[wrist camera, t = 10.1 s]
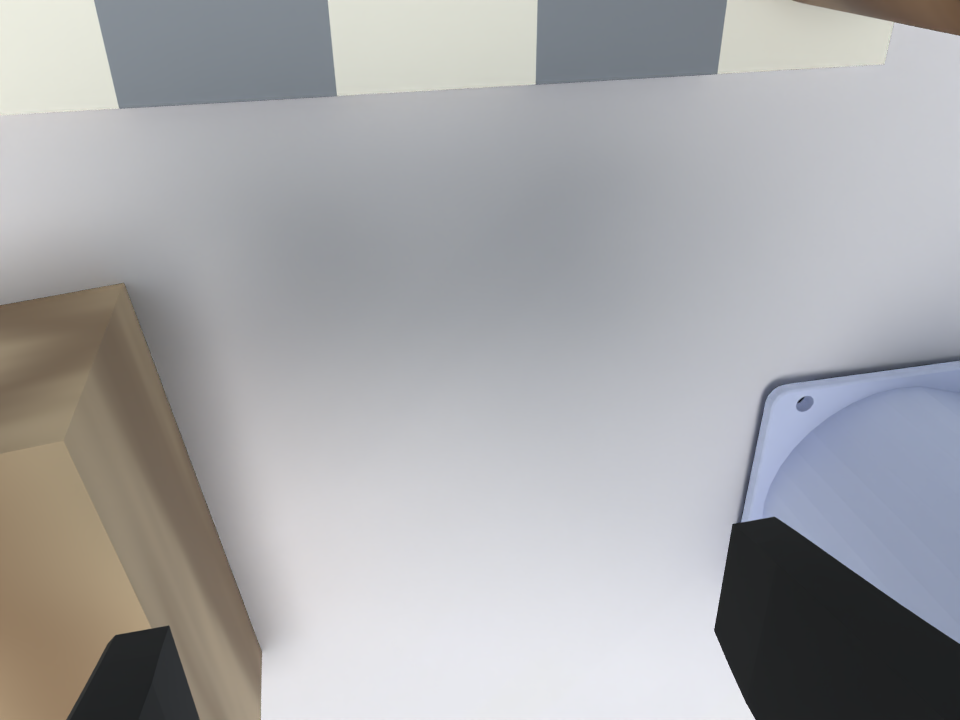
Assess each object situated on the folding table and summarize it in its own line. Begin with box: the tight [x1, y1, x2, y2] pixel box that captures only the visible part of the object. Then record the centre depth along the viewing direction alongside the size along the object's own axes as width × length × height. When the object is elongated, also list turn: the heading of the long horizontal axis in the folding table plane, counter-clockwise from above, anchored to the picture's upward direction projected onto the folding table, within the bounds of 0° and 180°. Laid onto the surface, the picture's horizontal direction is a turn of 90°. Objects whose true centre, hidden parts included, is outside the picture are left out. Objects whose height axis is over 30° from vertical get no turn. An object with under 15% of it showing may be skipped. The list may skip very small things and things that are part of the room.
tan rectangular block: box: [0, 283, 262, 720], centre depth 18 cm, size 4×12×6 cm, turn 6°
